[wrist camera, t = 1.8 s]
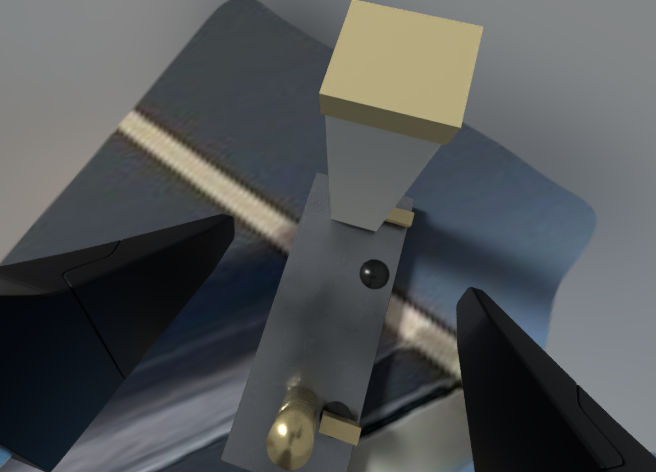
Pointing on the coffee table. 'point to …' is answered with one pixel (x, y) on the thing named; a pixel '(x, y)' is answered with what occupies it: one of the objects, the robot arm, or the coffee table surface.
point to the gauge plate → (317, 345)
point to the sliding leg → (391, 106)
